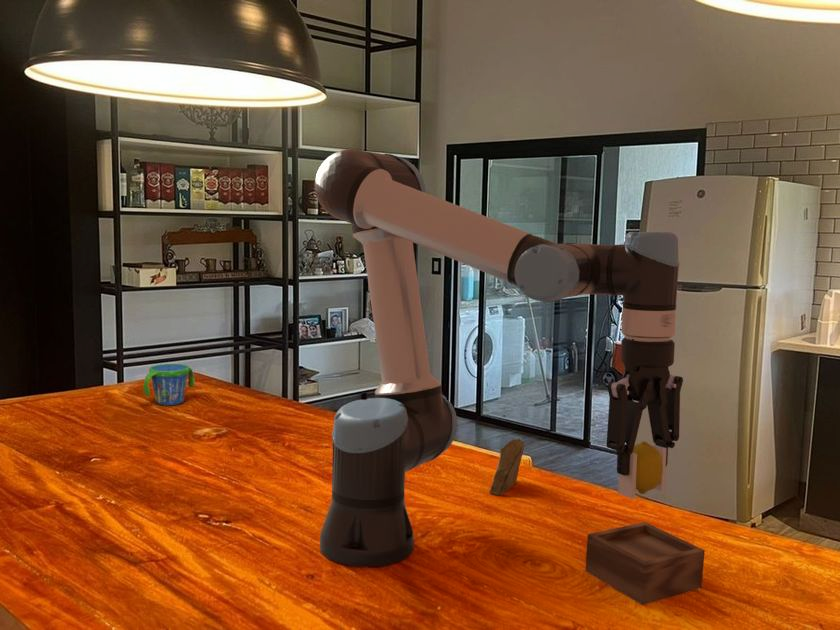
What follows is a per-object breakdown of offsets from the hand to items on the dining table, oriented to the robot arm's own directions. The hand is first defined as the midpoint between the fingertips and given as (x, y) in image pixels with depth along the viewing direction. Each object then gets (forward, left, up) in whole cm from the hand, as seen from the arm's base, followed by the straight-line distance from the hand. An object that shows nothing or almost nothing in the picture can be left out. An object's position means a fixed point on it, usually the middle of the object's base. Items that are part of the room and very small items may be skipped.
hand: (641, 491), depth 118 cm
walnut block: (+1, 0, -14) cm, 14 cm away
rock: (+8, +43, -14) cm, 45 cm away
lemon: (0, 0, -1) cm, 1 cm away
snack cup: (-31, +141, -14) cm, 145 cm away
